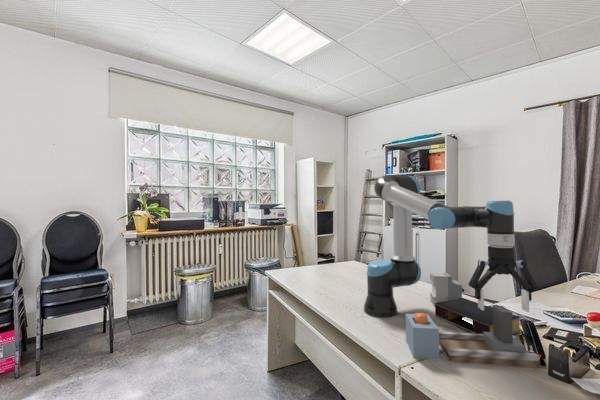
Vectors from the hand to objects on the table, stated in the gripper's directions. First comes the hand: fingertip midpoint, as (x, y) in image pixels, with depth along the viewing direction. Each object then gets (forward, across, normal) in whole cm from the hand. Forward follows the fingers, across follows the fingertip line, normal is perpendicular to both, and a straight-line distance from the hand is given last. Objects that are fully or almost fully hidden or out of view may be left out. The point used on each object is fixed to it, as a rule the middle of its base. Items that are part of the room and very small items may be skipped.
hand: (503, 309), depth 96 cm
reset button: (+7, -26, 0) cm, 27 cm away
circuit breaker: (+15, -2, +47) cm, 50 cm away
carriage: (+13, 0, 0) cm, 13 cm away
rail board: (+15, -6, 0) cm, 16 cm away
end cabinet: (+15, -26, 0) cm, 30 cm away
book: (+16, +1, +24) cm, 29 cm away
